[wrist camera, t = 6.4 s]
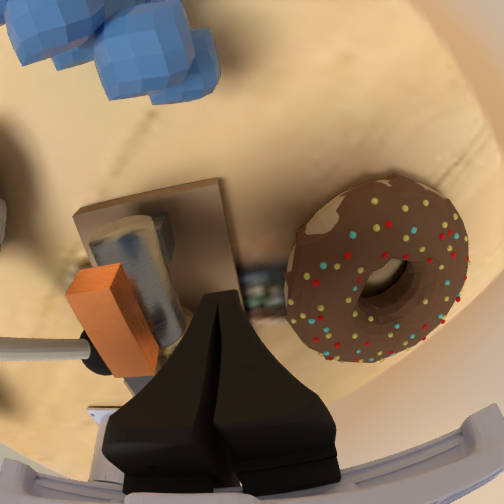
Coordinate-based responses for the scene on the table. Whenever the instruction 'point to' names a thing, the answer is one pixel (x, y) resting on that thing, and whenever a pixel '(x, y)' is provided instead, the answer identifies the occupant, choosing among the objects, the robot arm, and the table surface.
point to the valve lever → (115, 323)
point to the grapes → (118, 44)
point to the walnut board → (179, 235)
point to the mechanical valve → (49, 347)
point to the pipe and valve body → (146, 273)
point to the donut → (373, 258)
